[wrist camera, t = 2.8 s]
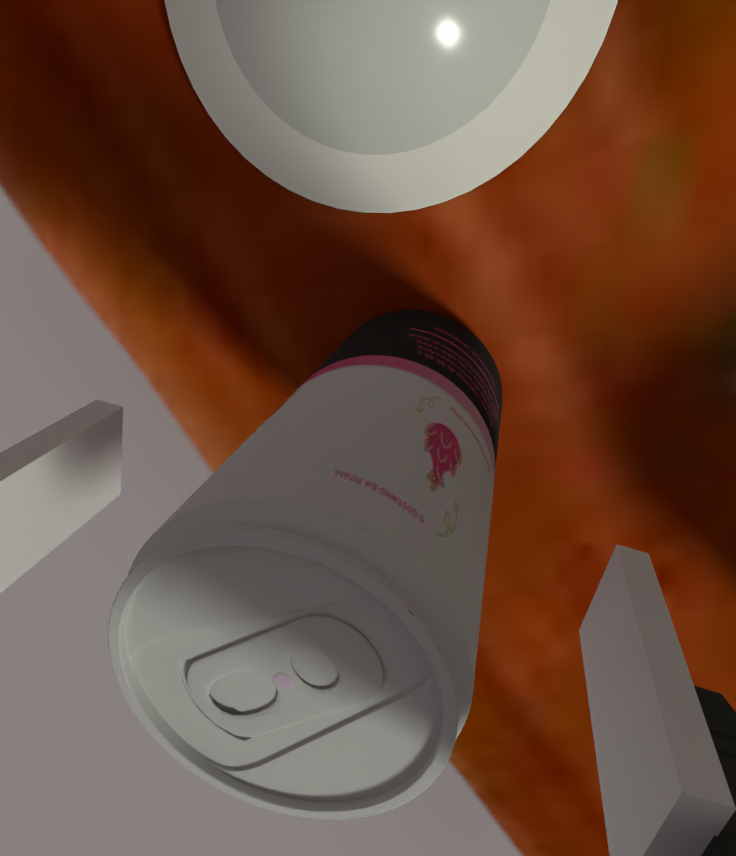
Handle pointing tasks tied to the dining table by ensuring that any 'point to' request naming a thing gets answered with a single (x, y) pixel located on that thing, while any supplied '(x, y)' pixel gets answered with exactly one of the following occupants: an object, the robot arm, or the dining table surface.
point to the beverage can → (327, 583)
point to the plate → (386, 88)
